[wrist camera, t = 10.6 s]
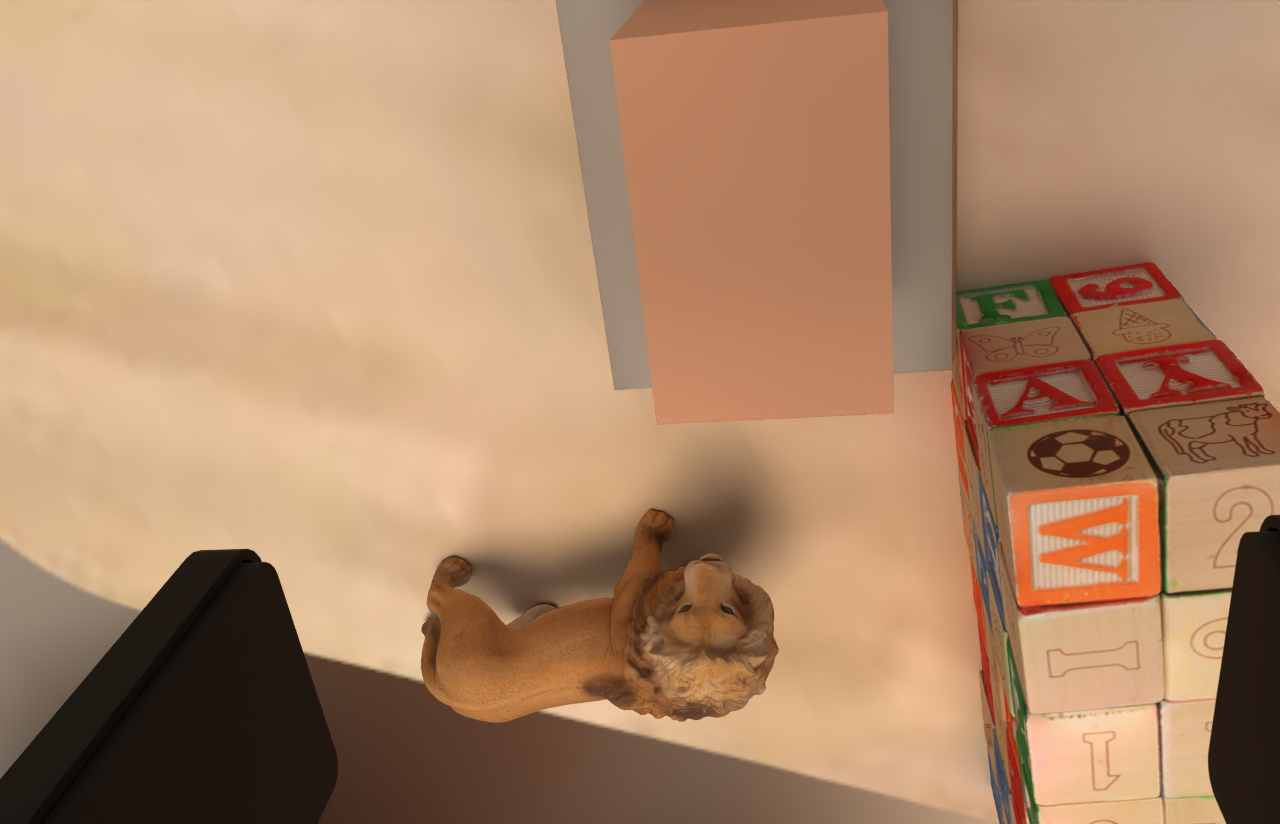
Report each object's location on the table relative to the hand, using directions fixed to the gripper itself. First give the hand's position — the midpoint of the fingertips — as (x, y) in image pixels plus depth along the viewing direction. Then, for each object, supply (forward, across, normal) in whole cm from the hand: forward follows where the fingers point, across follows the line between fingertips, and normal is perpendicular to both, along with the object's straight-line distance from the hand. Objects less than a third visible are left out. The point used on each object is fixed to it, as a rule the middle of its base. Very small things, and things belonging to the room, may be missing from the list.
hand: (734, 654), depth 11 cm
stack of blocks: (+25, -9, +16) cm, 31 cm away
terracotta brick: (+18, 0, 0) cm, 18 cm away
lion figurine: (+24, +7, +16) cm, 30 cm away
